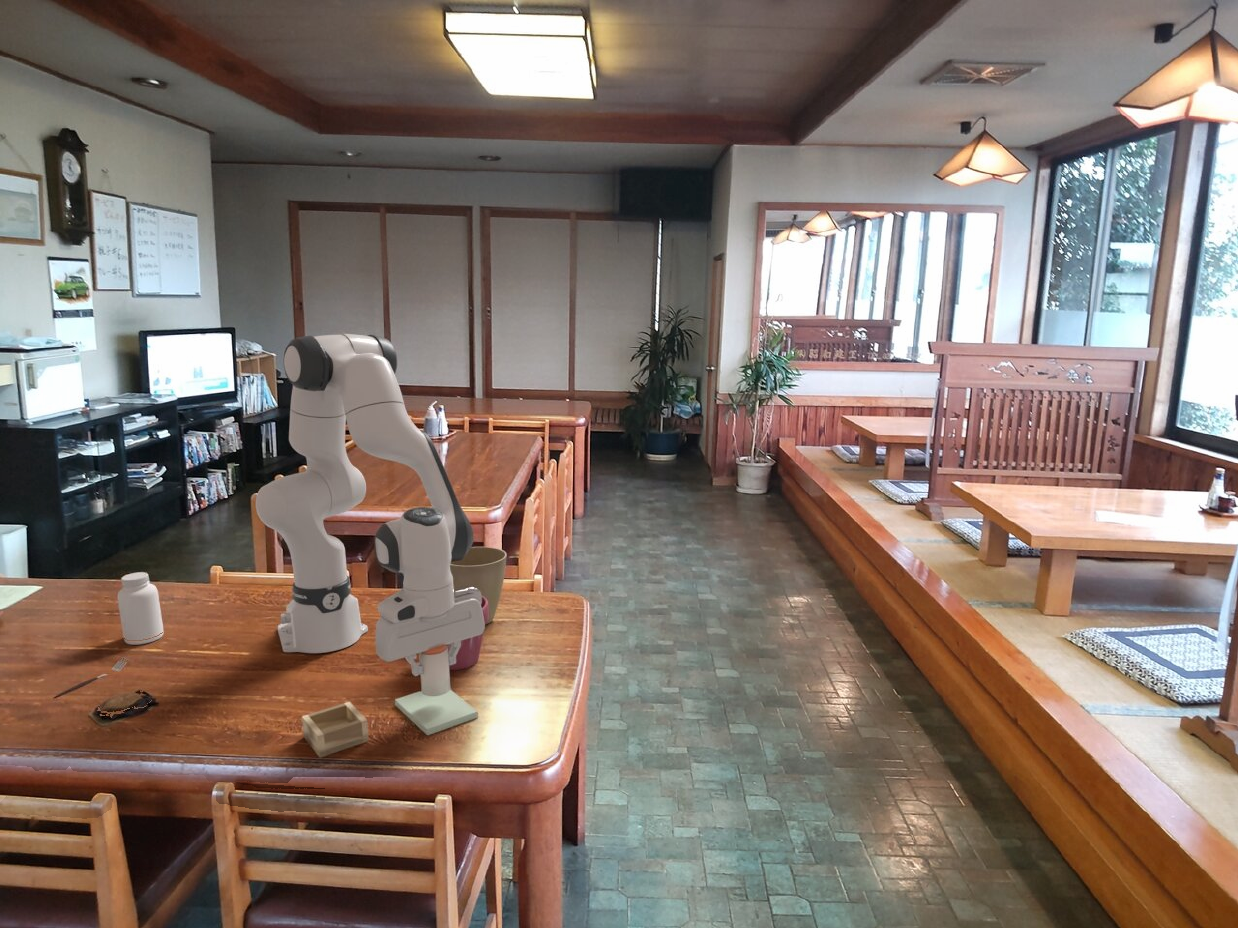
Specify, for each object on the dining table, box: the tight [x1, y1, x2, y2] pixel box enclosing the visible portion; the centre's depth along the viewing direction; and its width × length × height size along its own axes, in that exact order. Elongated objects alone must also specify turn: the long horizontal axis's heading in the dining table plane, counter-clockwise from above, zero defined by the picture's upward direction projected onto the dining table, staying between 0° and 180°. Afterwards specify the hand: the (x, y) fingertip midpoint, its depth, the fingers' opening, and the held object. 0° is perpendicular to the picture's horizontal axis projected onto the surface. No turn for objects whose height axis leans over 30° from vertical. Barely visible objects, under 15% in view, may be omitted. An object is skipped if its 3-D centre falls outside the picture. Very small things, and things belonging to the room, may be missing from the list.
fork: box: [53, 656, 130, 699], centre depth 170 cm, size 3×16×2 cm, turn 159°
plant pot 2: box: [446, 596, 489, 671], centre depth 175 cm, size 14×14×13 cm
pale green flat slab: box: [394, 689, 479, 736], centre depth 156 cm, size 14×10×1 cm
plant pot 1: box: [450, 546, 508, 625], centre depth 197 cm, size 15×15×16 cm
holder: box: [301, 701, 370, 759], centre depth 146 cm, size 8×8×4 cm
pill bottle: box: [116, 571, 164, 646], centre depth 189 cm, size 8×8×15 cm
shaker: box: [418, 644, 451, 696], centre depth 154 cm, size 5×5×9 cm
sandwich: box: [87, 689, 160, 728], centre depth 158 cm, size 11×8×4 cm
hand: (434, 668), depth 154 cm, fingers closed on shaker, 5 cm apart
